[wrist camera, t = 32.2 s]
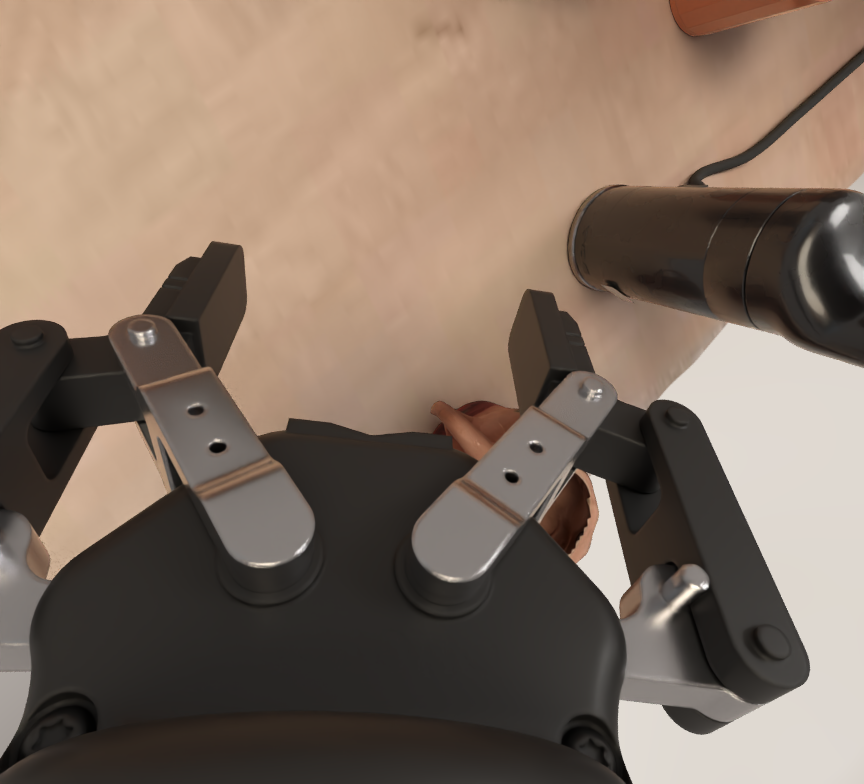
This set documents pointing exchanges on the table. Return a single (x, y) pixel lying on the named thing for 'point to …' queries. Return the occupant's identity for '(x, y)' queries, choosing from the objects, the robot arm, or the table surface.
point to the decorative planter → (482, 429)
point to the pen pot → (730, 13)
